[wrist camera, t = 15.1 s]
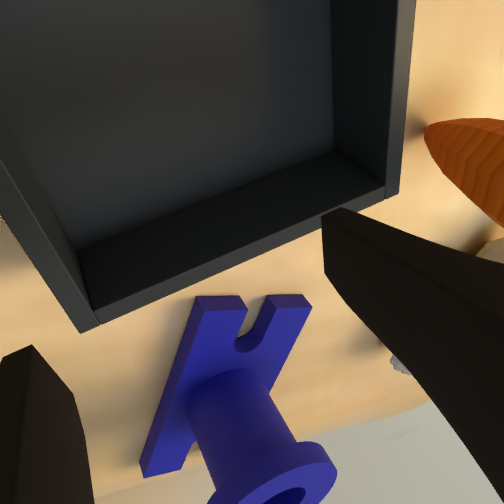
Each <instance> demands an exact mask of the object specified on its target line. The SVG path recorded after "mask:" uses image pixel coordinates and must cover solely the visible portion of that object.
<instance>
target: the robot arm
mask: <svg viewBox="0 0 504 504" xmlns="http://www.w3.org/2000/svg"><path fill="white" fill-rule="evenodd" d="M321 228H322V243H323V258H324V273H325V275H326V276H327V278H328V279H329V280H330V282H331V283H332V285H333V286H334V288H335V289H336V290H337V292H338V293H339V295H340V296H341V297H342V299H343V300H344V301H345V303H346V304H347V305H348V306H349V307H350V308H351V309H352V311H353V312H354V313H355V314H356V315H357V316H358V317H359V318H360V319H361V320H362V321H363V322H364V323H365V325H366V326H367V327H368V328H369V329H370V330H371V331H372V332H373V333H374V334H375V335H376V336H377V337H378V338H379V339H380V340H381V342H382V343H383V344H384V345H385V346H386V347H387V348H388V349H389V350H390V351H391V352H392V353H393V354H394V355H395V356H396V357H397V359H398V360H399V361H400V362H401V363H402V364H403V365H404V366H405V367H406V368H407V370H408V371H409V372H410V373H411V374H412V375H413V377H414V378H415V379H416V380H417V381H418V383H419V384H420V385H421V387H422V388H423V389H424V391H425V392H426V393H427V395H428V396H429V397H430V398H431V400H432V401H433V402H434V404H435V405H436V406H437V407H438V409H439V410H440V412H441V413H442V414H443V416H444V417H445V418H446V420H447V421H448V423H449V424H450V425H451V427H452V428H453V429H454V431H455V432H456V434H457V435H458V436H459V438H460V439H461V440H462V442H463V443H464V445H465V446H466V447H467V449H468V450H469V452H470V453H471V455H472V456H473V458H474V459H475V460H476V462H477V464H478V465H479V466H480V468H481V469H482V471H483V472H484V474H485V475H486V477H487V478H488V480H489V481H490V483H491V484H492V486H493V487H494V489H495V490H496V492H497V493H498V495H499V497H500V498H501V500H502V501H503V503H504V264H503V263H500V262H496V261H492V260H488V259H484V258H481V257H477V256H474V255H470V254H467V253H464V252H461V251H458V250H455V249H452V248H449V247H445V246H442V245H440V244H437V243H434V242H431V241H428V240H425V239H423V238H420V237H417V236H415V235H412V234H409V233H407V232H404V231H402V230H399V229H396V228H394V227H391V226H389V225H386V224H384V223H381V222H379V221H376V220H374V219H371V218H369V217H366V216H364V215H362V214H359V213H356V212H354V211H351V210H349V209H346V208H343V207H340V208H338V209H335V210H333V211H331V212H329V213H326V214H324V215H322V216H321ZM0 504H94V497H93V489H92V482H91V475H90V468H89V461H88V454H87V447H86V441H85V435H84V431H83V427H82V423H81V420H80V416H79V412H78V409H77V405H76V402H75V399H74V395H73V393H72V392H71V391H70V389H69V388H68V387H67V386H66V385H65V383H64V382H63V381H62V380H61V379H60V377H59V376H58V375H57V374H56V373H55V371H54V370H53V369H52V368H51V367H50V365H49V364H48V363H47V362H46V361H45V359H44V358H43V357H42V356H41V355H40V353H39V352H38V351H37V350H36V349H35V347H34V346H33V345H32V344H31V345H29V346H27V347H25V348H22V349H20V350H18V351H16V352H13V353H11V354H9V355H7V356H4V357H3V358H2V361H1V363H0Z"/></svg>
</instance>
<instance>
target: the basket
mask: <svg viewBox="0 0 504 504" xmlns="http://www.w3.org/2000/svg"><path fill="white" fill-rule="evenodd" d="M415 8H416V0H0V215H1V216H2V218H3V219H4V221H5V222H6V224H7V225H8V227H9V228H10V230H11V231H12V233H13V234H14V236H15V237H16V239H17V240H18V242H19V243H20V245H21V246H22V248H23V249H24V251H25V252H26V254H27V255H28V257H29V258H30V260H31V261H32V263H33V264H34V266H35V267H36V269H37V270H38V272H39V273H40V275H41V276H42V278H43V279H44V281H45V282H46V284H47V285H48V287H49V288H50V290H51V291H52V293H53V294H54V296H55V297H56V299H57V300H58V302H59V303H60V305H61V306H62V308H63V309H64V311H65V312H66V314H67V315H68V317H69V318H70V320H71V321H72V323H73V324H74V326H75V327H76V329H77V330H78V332H79V333H80V334H81V333H84V332H86V331H88V330H91V329H93V328H95V327H97V326H99V325H100V324H101V325H102V324H104V323H107V322H109V321H111V320H113V319H116V318H118V317H120V316H122V315H125V314H127V313H129V312H131V311H134V310H136V309H138V308H141V307H143V306H145V305H147V304H150V303H152V302H154V301H156V300H159V299H161V298H163V297H165V296H168V295H170V294H172V293H175V292H177V291H179V290H181V289H184V288H186V287H188V286H190V285H193V284H195V283H197V282H200V281H202V280H204V279H206V278H209V277H211V276H213V275H215V274H218V273H220V272H222V271H224V270H227V269H229V268H231V267H234V266H236V265H238V264H240V263H243V262H245V261H247V260H249V259H252V258H254V257H256V256H258V255H261V254H263V253H265V252H268V251H270V250H272V249H274V248H277V247H279V246H281V245H283V244H286V243H288V242H290V241H293V240H295V239H297V238H299V237H302V236H304V235H306V234H308V233H311V232H313V231H315V230H317V229H320V228H321V216H322V215H324V214H326V213H329V212H331V211H333V210H335V209H338V208H340V207H343V208H346V209H349V210H351V211H354V212H358V211H361V210H363V209H365V208H367V207H370V206H372V205H374V204H376V203H379V202H381V201H383V200H384V199H388V198H390V197H392V196H394V195H397V194H398V193H399V185H400V174H401V163H402V152H403V141H404V130H405V119H406V108H407V97H408V86H409V75H410V63H411V52H412V41H413V30H414V19H415Z"/></svg>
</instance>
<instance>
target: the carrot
mask: <svg viewBox="0 0 504 504" xmlns="http://www.w3.org/2000/svg"><path fill="white" fill-rule="evenodd" d="M424 141H425V143H426V145H427V147H428V149H429V152H430V154H431V156H432V158H433V159H434V161H435V162H436V164H437V165H438V167H439V168H440V169H441V171H442V172H443V174H444V175H445V176H446V177H448V178H449V179H450V180H451V181H452V182H453V183H454V184H455V185H456V186H457V187H458V188H459V189H460V190H461V191H462V192H463V193H464V194H465V195H466V196H467V197H468V198H469V199H470V200H471V201H472V202H473V203H474V204H476V205H477V206H478V207H479V208H480V209H481V210H482V211H483V212H484V213H486V214H487V215H488V216H489V217H490V218H491V219H492V220H493V221H495V222H496V223H498V224H499V225H500V226H502V227H503V228H504V120H497V119H491V118H462V119H455V120H448V121H442V122H436V123H433V124H431V125H429V126H428V127H426V129H425V131H424Z"/></svg>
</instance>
